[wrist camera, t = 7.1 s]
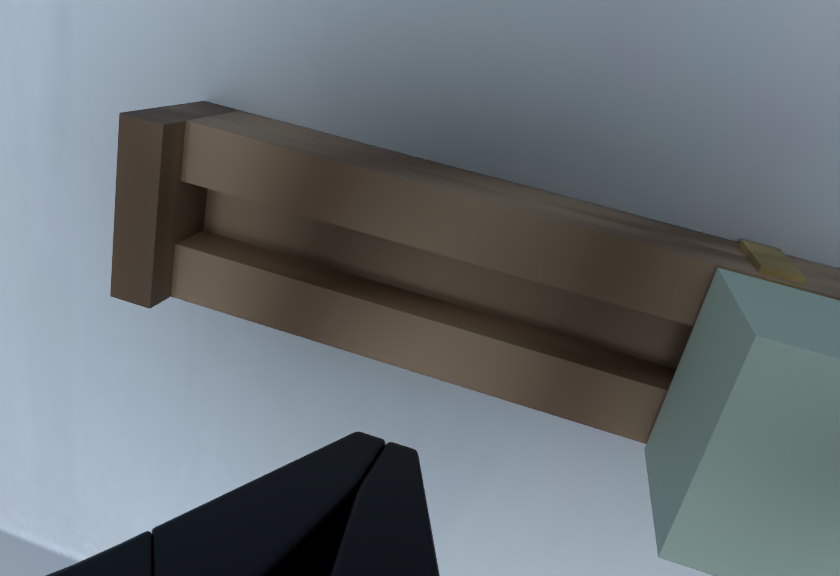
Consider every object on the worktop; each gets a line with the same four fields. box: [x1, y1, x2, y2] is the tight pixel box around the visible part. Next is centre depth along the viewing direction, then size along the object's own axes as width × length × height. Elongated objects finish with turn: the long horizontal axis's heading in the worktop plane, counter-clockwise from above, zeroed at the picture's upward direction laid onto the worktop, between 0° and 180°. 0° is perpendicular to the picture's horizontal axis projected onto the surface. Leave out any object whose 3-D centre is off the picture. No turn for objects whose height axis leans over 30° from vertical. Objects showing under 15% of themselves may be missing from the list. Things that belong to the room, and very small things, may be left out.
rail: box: [111, 101, 840, 444], centre depth 18 cm, size 26×5×4 cm, turn 78°
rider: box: [645, 268, 840, 576], centre depth 15 cm, size 4×5×6 cm
